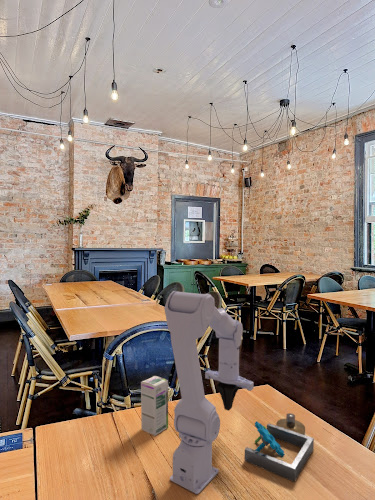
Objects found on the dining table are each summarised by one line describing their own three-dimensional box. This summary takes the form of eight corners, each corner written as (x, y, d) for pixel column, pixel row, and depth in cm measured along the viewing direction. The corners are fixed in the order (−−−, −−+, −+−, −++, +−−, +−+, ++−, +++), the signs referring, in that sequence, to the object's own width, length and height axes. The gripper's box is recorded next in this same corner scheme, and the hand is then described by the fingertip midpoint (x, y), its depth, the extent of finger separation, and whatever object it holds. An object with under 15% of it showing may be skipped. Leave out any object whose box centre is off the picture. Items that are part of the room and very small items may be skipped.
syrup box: (155, 436, 97) (155, 386, 96) (140, 429, 100) (140, 380, 100) (168, 428, 101) (168, 379, 101) (153, 421, 105) (154, 374, 105)
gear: (290, 459, 85) (261, 428, 86) (273, 477, 84) (244, 445, 85) (280, 440, 96) (254, 412, 97) (265, 455, 95) (240, 427, 96)
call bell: (299, 443, 94) (300, 425, 94) (272, 434, 99) (272, 416, 99) (308, 430, 101) (308, 414, 100) (282, 422, 105) (282, 406, 105)
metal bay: (294, 481, 79) (294, 469, 79) (244, 461, 87) (244, 449, 86) (313, 449, 92) (313, 438, 92) (268, 433, 99) (268, 423, 99)
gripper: (258, 362, 96) (257, 410, 97) (214, 352, 105) (213, 396, 105) (247, 370, 91) (246, 421, 91) (201, 358, 99) (200, 405, 99)
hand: (228, 408), depth 98 cm, fingers closed
